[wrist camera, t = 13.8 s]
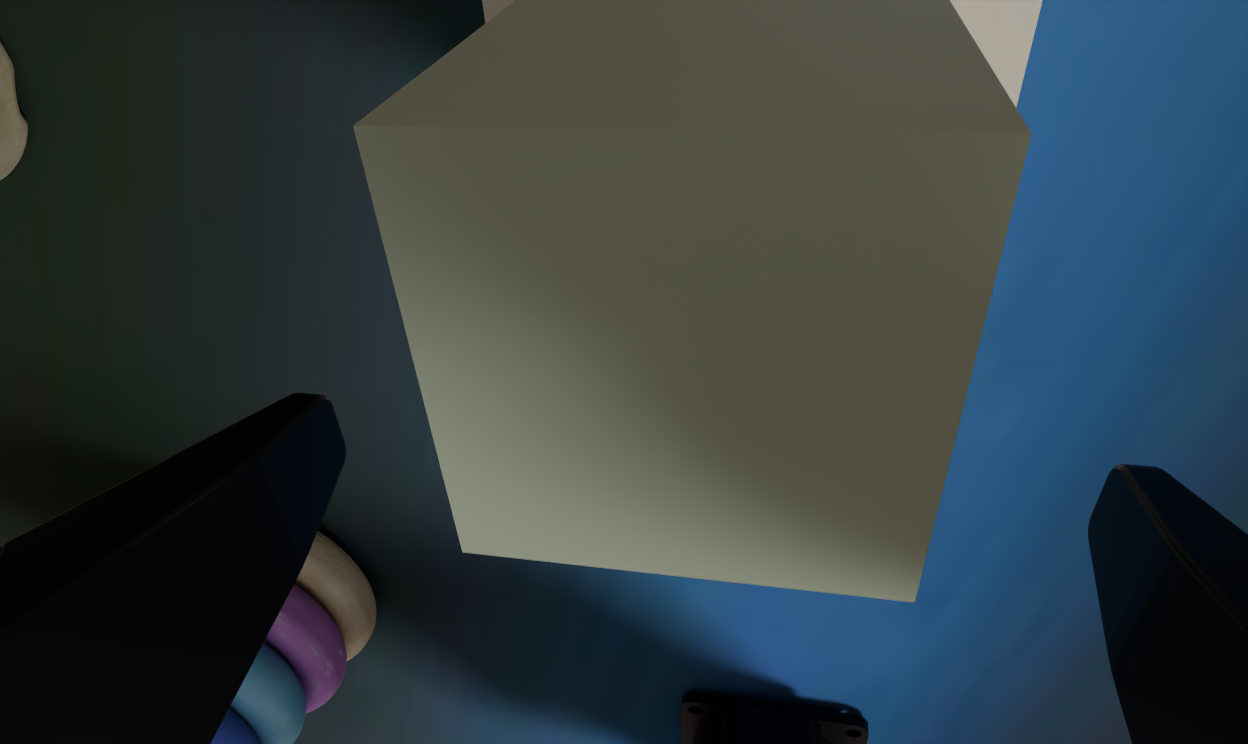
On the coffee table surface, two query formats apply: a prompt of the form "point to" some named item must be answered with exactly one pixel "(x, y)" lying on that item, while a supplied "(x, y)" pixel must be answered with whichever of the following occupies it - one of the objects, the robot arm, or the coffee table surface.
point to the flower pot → (10, 118)
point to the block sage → (699, 279)
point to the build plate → (995, 17)
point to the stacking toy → (303, 650)
